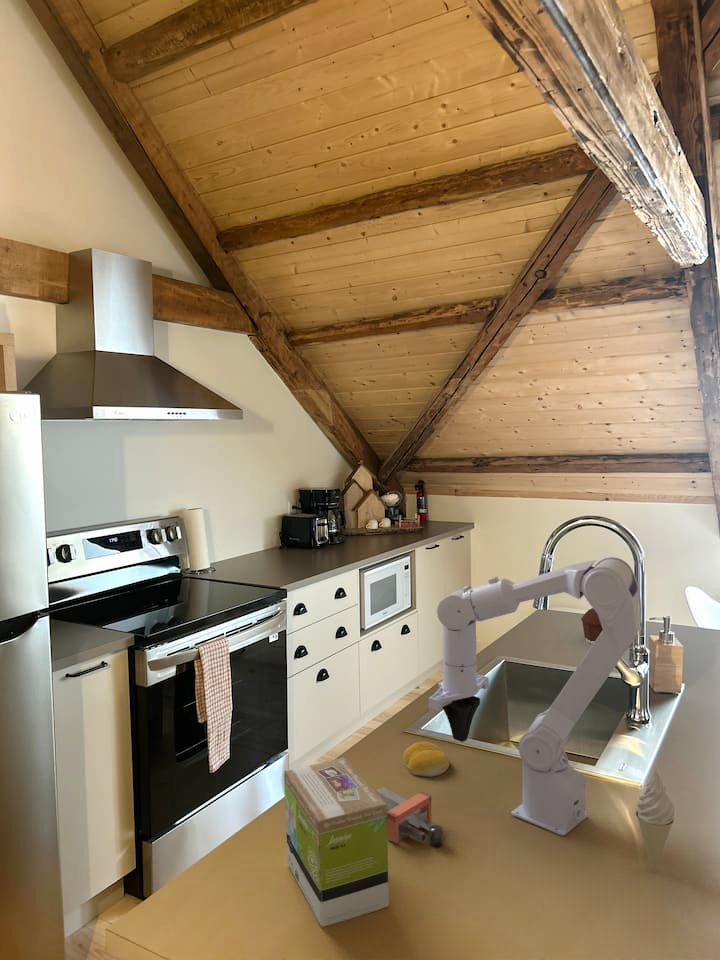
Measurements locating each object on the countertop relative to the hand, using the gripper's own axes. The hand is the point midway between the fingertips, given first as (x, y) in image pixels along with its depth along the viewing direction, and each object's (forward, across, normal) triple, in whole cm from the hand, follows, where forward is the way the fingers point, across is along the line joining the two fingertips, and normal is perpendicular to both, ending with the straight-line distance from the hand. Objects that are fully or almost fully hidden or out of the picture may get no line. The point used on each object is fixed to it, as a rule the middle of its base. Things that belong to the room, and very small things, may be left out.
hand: (460, 739), depth 124 cm
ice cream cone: (+10, -1, +33) cm, 35 cm away
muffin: (+10, -99, -22) cm, 102 cm away
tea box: (+10, +32, +2) cm, 34 cm away
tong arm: (+10, +12, -2) cm, 16 cm away
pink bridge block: (+10, +14, +1) cm, 18 cm away
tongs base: (+10, +15, -1) cm, 18 cm away
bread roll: (+10, -4, -11) cm, 16 cm away
